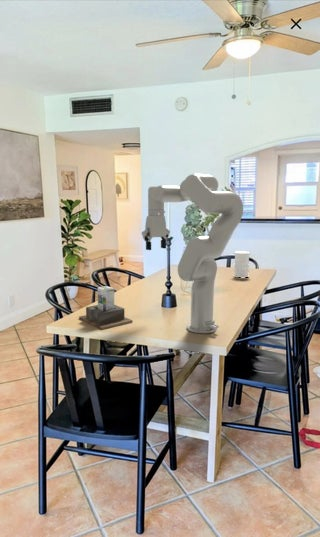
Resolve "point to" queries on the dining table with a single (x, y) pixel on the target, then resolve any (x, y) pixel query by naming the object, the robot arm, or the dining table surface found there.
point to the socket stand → (105, 317)
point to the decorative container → (241, 264)
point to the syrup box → (105, 298)
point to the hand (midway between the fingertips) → (156, 249)
